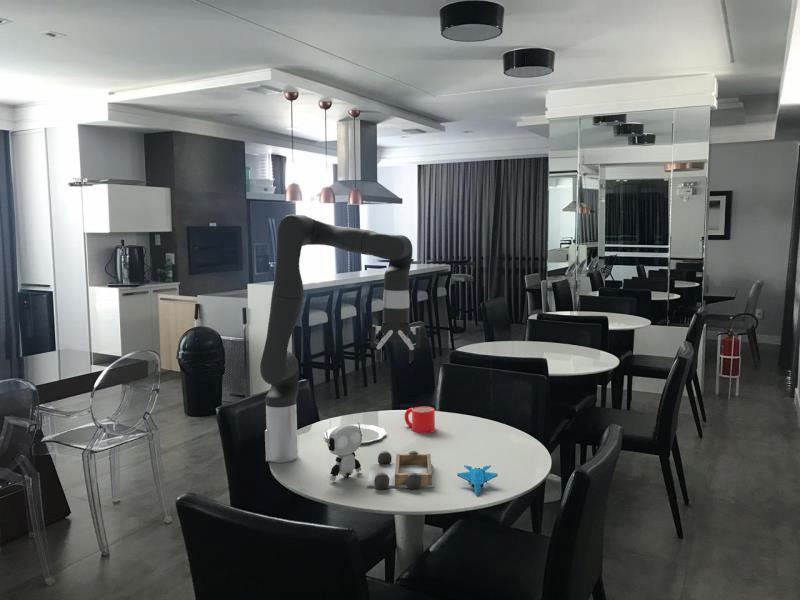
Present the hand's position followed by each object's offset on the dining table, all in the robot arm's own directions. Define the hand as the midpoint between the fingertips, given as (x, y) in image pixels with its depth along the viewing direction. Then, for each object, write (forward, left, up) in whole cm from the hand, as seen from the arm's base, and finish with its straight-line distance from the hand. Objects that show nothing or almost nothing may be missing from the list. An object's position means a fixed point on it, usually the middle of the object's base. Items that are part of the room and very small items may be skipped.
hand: (395, 362), depth 189 cm
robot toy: (-14, -6, -32) cm, 35 cm away
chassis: (+1, -5, -32) cm, 32 cm away
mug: (+7, +39, -32) cm, 51 cm away
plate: (-15, +32, -32) cm, 48 cm away
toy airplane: (+18, -12, -32) cm, 38 cm away
